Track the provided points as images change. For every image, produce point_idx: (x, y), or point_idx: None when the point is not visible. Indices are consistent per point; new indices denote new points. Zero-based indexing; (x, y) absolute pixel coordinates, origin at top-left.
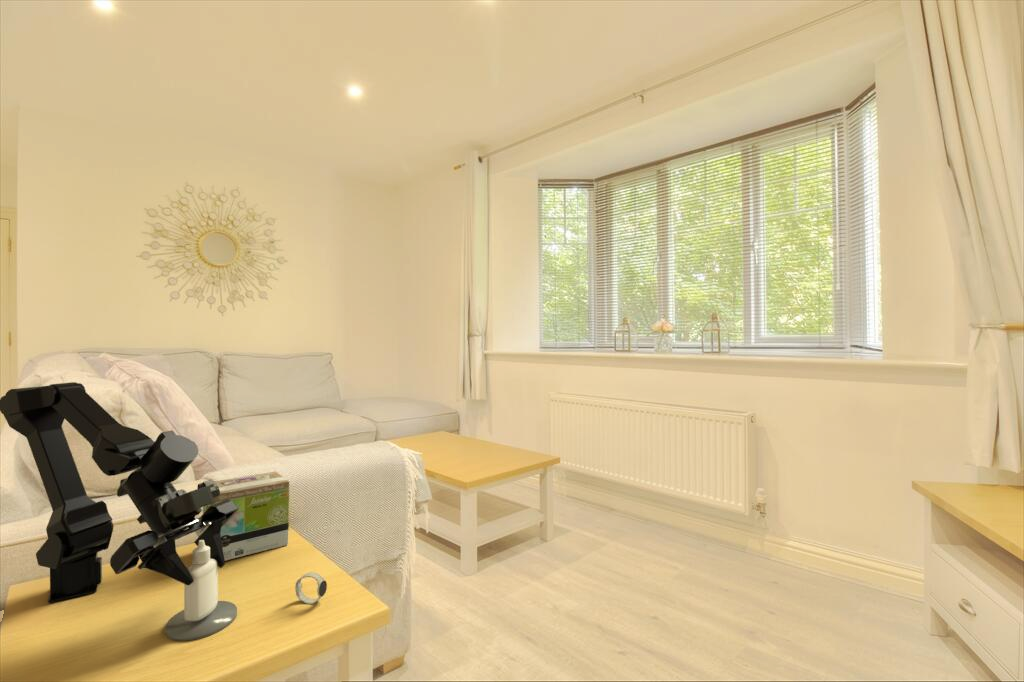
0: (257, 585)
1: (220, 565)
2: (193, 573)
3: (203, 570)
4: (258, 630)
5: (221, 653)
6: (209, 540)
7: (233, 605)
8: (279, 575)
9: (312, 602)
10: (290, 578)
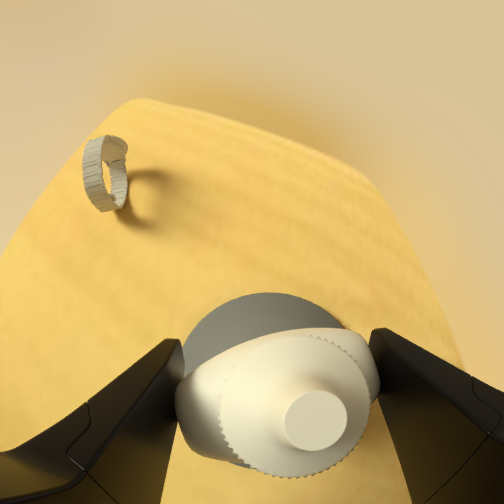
0: (77, 375)
1: (181, 360)
2: (365, 353)
3: (321, 329)
4: (246, 212)
5: (340, 222)
6: (112, 496)
7: (187, 348)
8: (32, 350)
9: (124, 184)
10: (38, 311)
